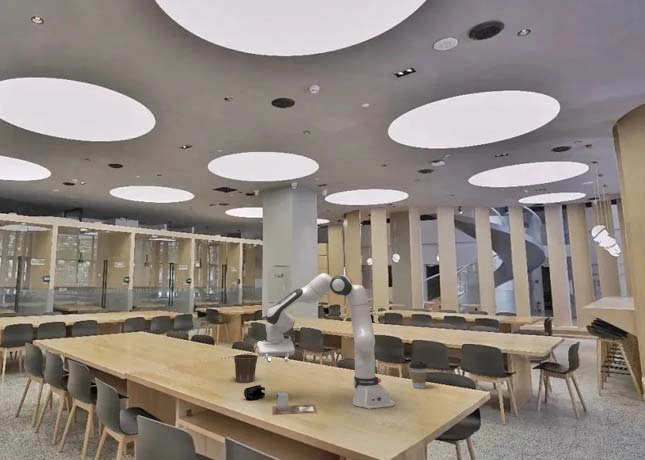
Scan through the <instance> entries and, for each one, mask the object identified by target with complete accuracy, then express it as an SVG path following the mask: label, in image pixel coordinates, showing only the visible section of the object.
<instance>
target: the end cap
mask: <svg viewBox="0 0 645 460" xmlns="http://www.w3.org/2000/svg"><path fill="white" fill-rule="evenodd" d="M264 391H266V387H264V386H262V385H261V384H258V385H254V386H250V387H247V388H245V389H244V391H243V396H244V398H245V399H246V401H249V402H255V401H260V400H264V399H265V396H266V393H265V392H264Z"/></svg>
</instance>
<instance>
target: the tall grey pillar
mask: <svg viewBox="0 0 645 460" xmlns="http://www.w3.org/2000/svg"><path fill="white" fill-rule="evenodd" d="M276 406H277V410H278V411H287V410H288V406H289V394H288V392H286V391H285V392H284V391H283V392H276Z"/></svg>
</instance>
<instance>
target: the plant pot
mask: <svg viewBox="0 0 645 460" xmlns="http://www.w3.org/2000/svg"><path fill="white" fill-rule="evenodd" d="M258 358H259V355H258V354H249V353H248V354H238V355H234V356H233V359H234V366H235V368H234V369H235V381H236V382H237V383H239V382H240V384H247V383H252V382H254V381H255V376H256V369H257V368H256V367H257V362H258Z"/></svg>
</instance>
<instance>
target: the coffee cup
mask: <svg viewBox="0 0 645 460" xmlns="http://www.w3.org/2000/svg"><path fill="white" fill-rule="evenodd" d="M408 368H410V374H411V381H412V382H411V383H412V387H413V389H417V390H425V389H426V385H427V374H428V365H427V363H426V362H425V361H411V362H410V364H409V365H408Z"/></svg>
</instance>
